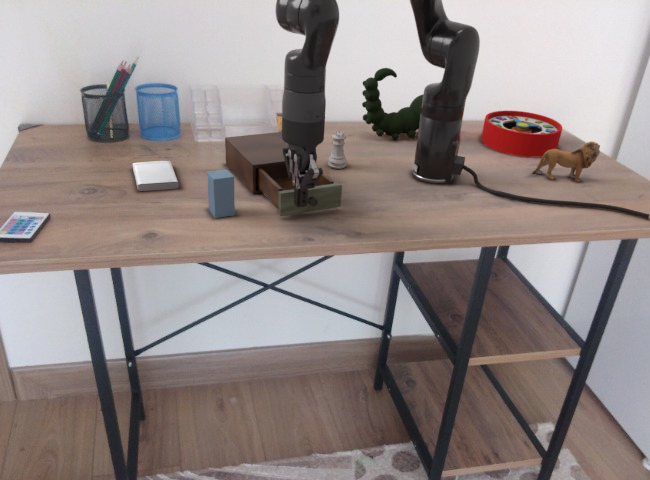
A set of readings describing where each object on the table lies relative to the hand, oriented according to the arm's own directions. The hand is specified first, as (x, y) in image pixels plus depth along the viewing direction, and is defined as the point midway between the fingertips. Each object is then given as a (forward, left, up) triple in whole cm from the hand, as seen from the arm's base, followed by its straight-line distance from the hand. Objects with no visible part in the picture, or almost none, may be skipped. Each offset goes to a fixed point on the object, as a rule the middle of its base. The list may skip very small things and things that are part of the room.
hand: (300, 205), depth 122 cm
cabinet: (+15, -21, -4) cm, 26 cm away
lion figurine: (-48, -51, -4) cm, 70 cm away
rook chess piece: (+3, -33, -4) cm, 33 cm away
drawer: (+5, -10, -3) cm, 12 cm away
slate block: (+16, +1, -4) cm, 16 cm away
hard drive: (+36, -8, -4) cm, 37 cm away
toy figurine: (-7, -61, -4) cm, 62 cm away
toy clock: (-36, -71, -4) cm, 79 cm away
